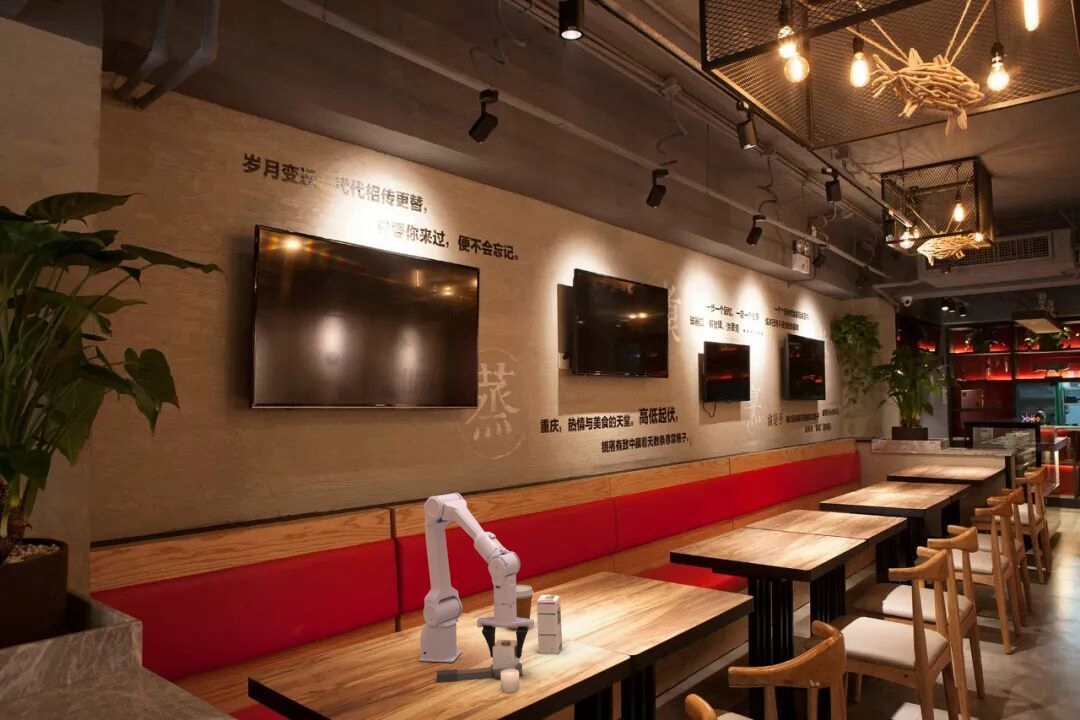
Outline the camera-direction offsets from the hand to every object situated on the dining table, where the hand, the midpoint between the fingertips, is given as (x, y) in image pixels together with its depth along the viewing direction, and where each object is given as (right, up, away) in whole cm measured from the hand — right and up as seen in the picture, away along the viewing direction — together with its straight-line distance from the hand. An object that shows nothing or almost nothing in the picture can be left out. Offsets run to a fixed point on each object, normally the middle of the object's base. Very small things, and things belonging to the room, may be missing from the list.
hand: (506, 656), depth 177 cm
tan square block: (0, -2, 0) cm, 2 cm away
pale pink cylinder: (+1, -4, -10) cm, 10 cm away
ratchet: (-7, -5, -1) cm, 8 cm away
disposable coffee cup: (+2, -7, +38) cm, 39 cm away
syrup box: (+11, -6, +17) cm, 21 cm away
